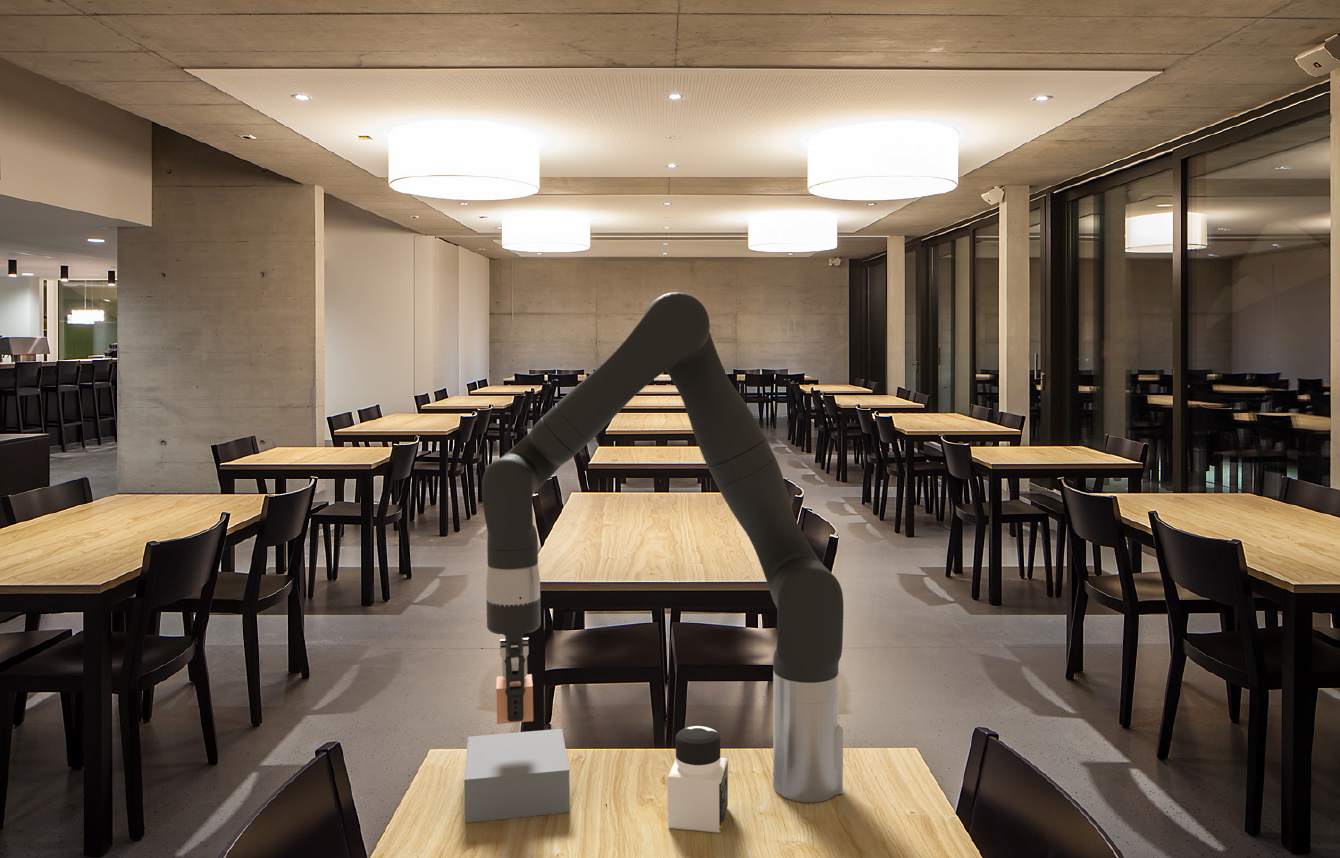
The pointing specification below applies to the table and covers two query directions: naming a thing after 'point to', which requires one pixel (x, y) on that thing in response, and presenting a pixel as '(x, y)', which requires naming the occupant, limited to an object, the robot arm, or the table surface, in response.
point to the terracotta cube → (502, 699)
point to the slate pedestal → (516, 775)
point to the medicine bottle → (698, 782)
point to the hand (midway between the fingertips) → (515, 712)
